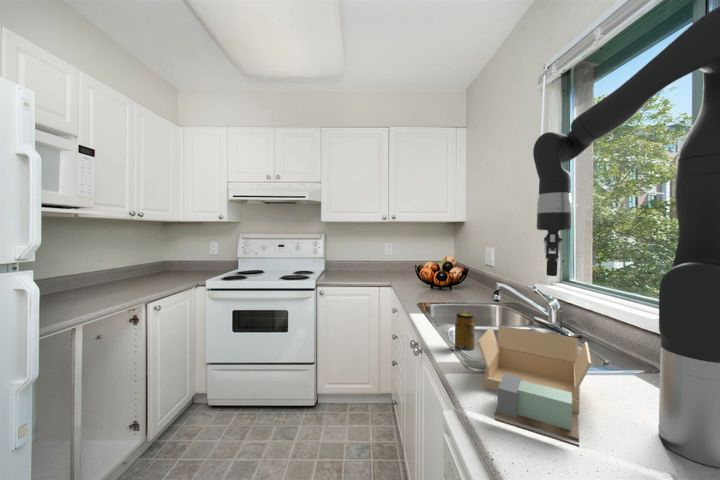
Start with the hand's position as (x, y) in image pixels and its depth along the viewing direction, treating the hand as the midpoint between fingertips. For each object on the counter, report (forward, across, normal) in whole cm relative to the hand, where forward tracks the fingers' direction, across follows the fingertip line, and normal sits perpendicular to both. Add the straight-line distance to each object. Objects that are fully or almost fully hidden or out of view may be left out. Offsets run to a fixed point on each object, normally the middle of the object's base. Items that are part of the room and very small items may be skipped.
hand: (552, 274), depth 80 cm
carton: (+28, -8, +4) cm, 29 cm away
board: (+28, -23, +2) cm, 36 cm away
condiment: (+28, +8, +23) cm, 37 cm away
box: (+26, -23, +3) cm, 35 cm away
